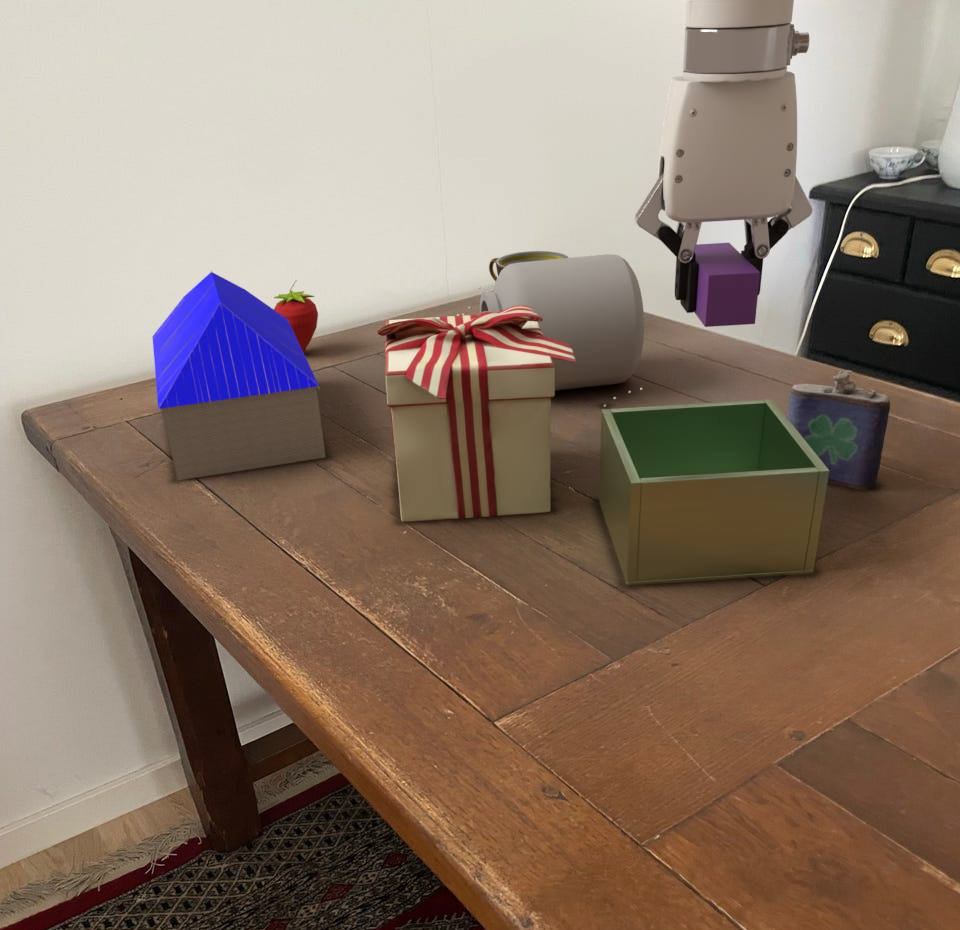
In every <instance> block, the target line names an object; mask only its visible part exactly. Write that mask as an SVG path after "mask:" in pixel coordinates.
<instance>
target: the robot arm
mask: <svg viewBox="0 0 960 930" xmlns="http://www.w3.org/2000/svg"><path fill="white" fill-rule="evenodd" d="M794 1H795V0H686V6H685V7H686V9H685V27H684V41H683V42H684V45H683V63H682V75H678V76H674V77H672V78H671V80H670V83H669V87H668V92H667V95H666V96H667V97H666V101H665V107H664V114H663V118H662V126H661V135H660V141H659V142H660V143H659V150H658V151H659V152H658V160H657V161H658V163H657V173H656V182H655V183H654V185H653V186H652V188H651V190H649V193H648V194H647V195H646V198H645V199H644V201H643V202H642V204H641V206H640V207H639V209H638V210H637V212H636V213H635V215H634V222H635V223H636V225H637V226H638V227H639V228H641V229H642V230H644V231H645V232H647V233H648V234H650V235H652V237H654V238H656V239H657V240H659V241H660V242H661V243H662V244H663V245H664V246H665V247H666V248H667V249H668V250H669V251H670V252H671V253H672V254H673V255H674V256H675V257H676V258H675V259H676V260H675V276H674V277H675V279H674V299H675V300H676V301H679V302H680V305H681V306H682V308H683V309H684V311H685V312H686V313H687V314H692V313H694V311H695V310H696V301H697V286H698V272H699V264H698V263H697V261H696V260H695V257H696V254H695V248H696V245H697V243H698V241H699V240H698V239H699V235H700V232H701V229H702V225H703V224H702V223H710V222H726V221H727V222H728V221H743V226H744V236H745V244H744V246H743V250H740V252H739V253H740V254H741V255H742V256H744V257H745V258H746V259H747V260H748V261H749V262H750V263H751V264H752V265H753V266H754V267H755V268H756V269H757V270H758V271H759V272H760V279H759V289H758V296H760V294H761V288H762V287H761V286H762V285H761V284H762V275H763V267H764V266H763V265H764V259H765V258H767V257H768V256H769V254H770V252H771V249H773V248H774V246H775V245H776V244H778V242H780V241H781V240H782V238H783V237H784V236H786V234H787V233H788V232H789V231H790V230H791V229H794V228H795V227H797V226H798V225H799V224H801V223H802V222H804V221H805V220H807V218H810V216H812V214H813V207H812V204H811V202H810V201H809V198H807V195H806V193H805V192H804V189H803V187H802V185H801V184H800V181H799V180H798V177H797V176H796V175H797V161H798V160H797V159H798V158H797V156H798V99H797V85H796V75H795V73H793V72H792V71H788V66H790V65H791V60H792V59H793V57H796V56H797V55H798V54H807V52H808V50H809V47H810V33H809V32H800V31H799V30H795V29H796V28H795V24H794V23H792V22H793V21H792V20H793V12H794V11H793V10H794ZM661 211H664V213H665V215H666V216H667V218H669V219H670V220H671V221H675V222H677V225H676V229H673V227H672V226H670V225H669V224H668V223H666V222H665V221H663V220H662V219H661V218H659V214H660V212H661ZM768 218H769V220H768Z"/></svg>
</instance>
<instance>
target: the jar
mask: <svg viewBox="0 0 960 930" xmlns="http://www.w3.org/2000/svg"><path fill="white" fill-rule="evenodd" d="M481 288H482V286H481V285H479V286H478V289H481ZM642 296H643V295H642V291H641V287H640V283H639V280H638V277H637V275H636V273H635V272H634V270H633V268H632V267H631V265H630V263H629V262H628V260H626V259H625V258H623V257H622V256H620V255H618V254H610V253H609V254H596V255H585V256H576V257H570V258H563V259H552V260H541V261H530V262H519V263H513V264H509V265H507V266H506V267H505V268H504V269H503V270H501V272H500V274H499V276H498V275H497V280H496V281H494V287H493V291H483V292H481V295H480V299H479V314H480V313H482V312H487V311H488V312H494V313H497V312H500V311H503V310H505V309H507V308H510V307H513V306H519V305H525V306H528V307H530V308H531V309H532V310H533V311H534V312H535V313H537V314H538V315H539V316H540V317H541V318H542V319H543V320H542V321H541V322H538V323H539V326H540V329H541V331H542V333H543V336H544V337H547V338H551V339H554V340H557V341H560V342H563V343H566V344H569V345H570V346H571V348H572V351H573V355H574V357H575V359H576V362H571V361H565V360H558V359H553V363H554V372H555V391H563V390H564V391H565V390H573V389H582V388H590V387H591V388H592V387H601V386H609V385H617V384H622V383H625V382H626V381H628V380H629V378H631V377H632V376H633V374H634V373H635V371H636V369H637V367H638V365H639V363H640V361H641V357H642V353H643V347H644V339H645V337H644V336H645V314H644V303H643V298H642ZM471 308H472V307H471V306H468V310H471ZM456 316H465V313H462V314H460V313H457V314H456ZM639 391H643V387H640V388H639ZM631 393H632V391H631V390H628V394H631ZM616 399H617V397H616V396H613V400H616ZM603 407H605V408H606V407H607V404H604V405H603Z"/></svg>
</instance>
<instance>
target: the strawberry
mask: <svg viewBox="0 0 960 930" xmlns="http://www.w3.org/2000/svg"><path fill="white" fill-rule="evenodd" d="M297 281H298V280H297V279H295V281H294V283H292V286H291V288H290V289H289V291H288V293H281V294H278V295H276V296H274V297H273V299H281V300H280V301H278V302H276V305H275V306H274V307H273V309H274V310H275V311H276V312H278V313H279V314H281V315H282V316H284V317H285V318H286V319H288V321H289V323H290V325H291V328H292V330H293V332H294V334H295V336H296V338H297V340H298V342H299V344H300V347H301V349H302V351H303V353H304V354H305V352H306V350H307V348H308V346H309V344H310V343H311V342H312V339H313V337H314V334H315V332H316V330H317V327H318V318H319V311H318V309H317V305H316V304H315V303H314V301H313V300H312V299H311V298H315V295H313V294H308V293H305V291H303V290H302V291H294V290H292V289H293V287H294V285H295V284H296V283H297Z"/></svg>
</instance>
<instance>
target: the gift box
mask: <svg viewBox="0 0 960 930" xmlns="http://www.w3.org/2000/svg"><path fill="white" fill-rule="evenodd" d="M542 320H543V319H542V318H541V317H540V316H539V315H538V314H537V313H535V312H534V311H533V310H532V309H531V308H530V307H528V306H525V305H519V306H513V307H510V308H507V309H505V310H503V311H500V312H497V313H494V312H488V311H487V312H482V313H480V312H479V314H467V315H465V314H464V316H462V315H460V316H457V315H450V316H449V315H448V316H445V315H444V316H435V317H434V316H431V317H417V318H403V319H401V318H400V319H389V320H386V322H385V325H384V326H382V327H381V328H380V329H378V330H377V332H376V333H377V335H379V336H381V337H384V336H385V343H384V360H385V377H384V378H385V390H386V391H385V393H386V403H387V407H389V412H390V420H391V428H392V429H391V431H392V439H393V449H394V451H393V452H394V459H395V466H396V476H397V478H396V479H397V486H398V487H397V488H398V498H399V510H400V511H399V512H400V521H401V522H402V523H415V522H429V521H440V520H441V521H442V520H443V521H444V520H457V519H458V520H463V519H465V520H466V519H472V518H488V517H498V516H512V515H525V514H526V515H527V514H539V513H547V512H551V417H552V416H551V415H552V414H551V412H552V409H551V408H552V407H551V402H552V401H551V400H552V398H555V396H556V393H555V392H556V390H555V372H554V363H553V359H558V360H565V361H571V362H576V359H575V357H574V355H573V351H572V348H571V346H570V345H569V344H566V343H563V342H560V341H557V340H554V339H551V338H547V337H544V336H543V333H542V331H541V329H540V326H539V323H538V322H541V321H542Z"/></svg>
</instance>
